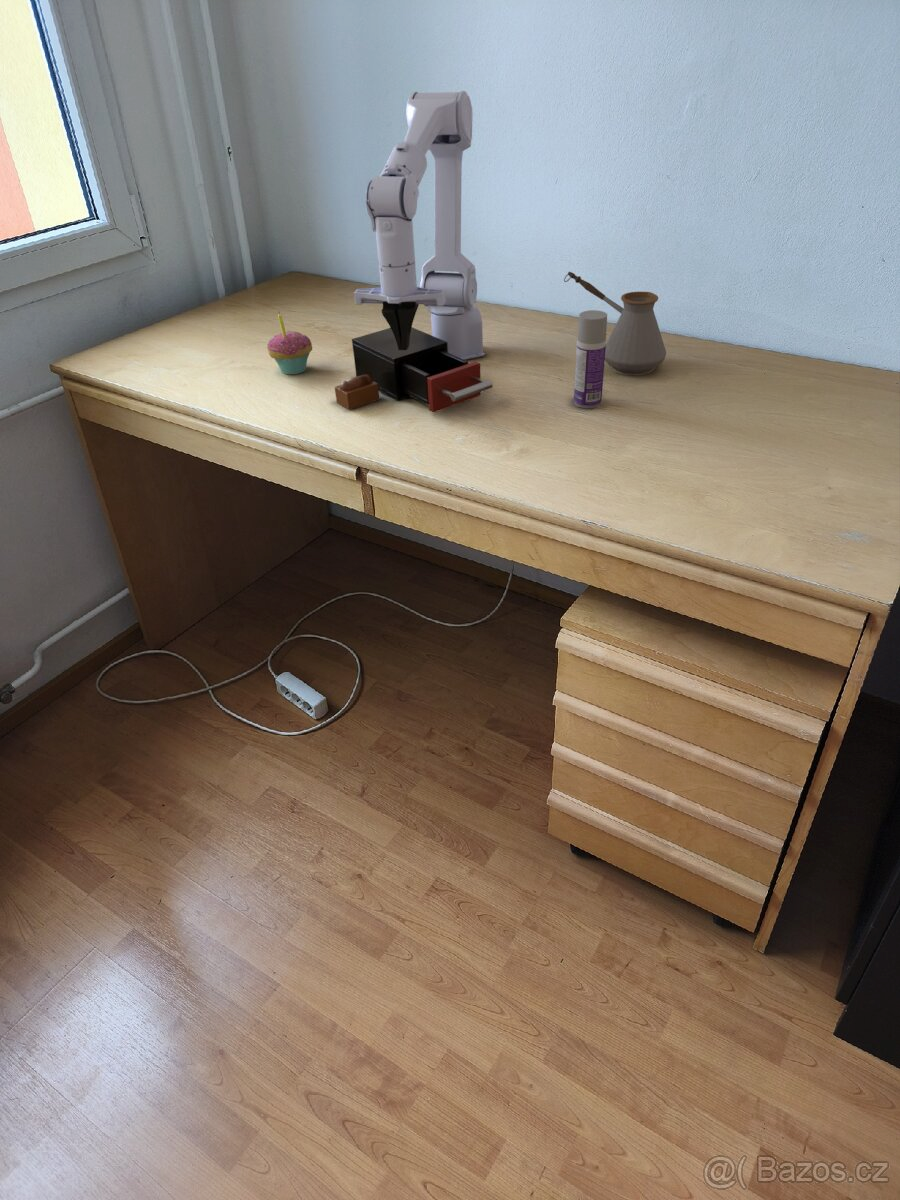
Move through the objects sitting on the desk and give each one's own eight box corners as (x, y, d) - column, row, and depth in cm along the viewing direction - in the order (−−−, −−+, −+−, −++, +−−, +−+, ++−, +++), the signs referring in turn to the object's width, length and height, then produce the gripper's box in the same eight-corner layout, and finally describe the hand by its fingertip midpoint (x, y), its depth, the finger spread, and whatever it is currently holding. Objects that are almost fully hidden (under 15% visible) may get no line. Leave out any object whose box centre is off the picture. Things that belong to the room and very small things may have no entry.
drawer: (498, 403, 136) (498, 370, 132) (450, 421, 131) (448, 388, 128) (438, 375, 147) (436, 344, 143) (391, 390, 142) (388, 359, 139)
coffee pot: (675, 364, 148) (686, 281, 139) (644, 384, 142) (653, 298, 132) (579, 341, 160) (583, 263, 151) (545, 359, 153) (548, 278, 144)
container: (603, 398, 138) (610, 310, 129) (598, 409, 134) (605, 320, 125) (576, 396, 139) (581, 309, 130) (571, 407, 136) (575, 318, 126)
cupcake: (306, 379, 151) (296, 315, 143) (264, 377, 152) (252, 314, 145) (321, 362, 157) (312, 300, 150) (280, 360, 159) (269, 299, 151)
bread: (366, 392, 144) (364, 369, 142) (379, 399, 142) (377, 376, 139) (336, 402, 141) (333, 379, 139) (349, 410, 139) (345, 386, 136)
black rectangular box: (449, 382, 146) (447, 342, 142) (397, 400, 141) (393, 359, 136) (406, 362, 155) (403, 323, 150) (356, 379, 150) (351, 339, 145)
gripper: (344, 269, 122) (355, 355, 130) (437, 270, 120) (441, 358, 128) (357, 256, 128) (366, 340, 136) (446, 257, 125) (450, 342, 133)
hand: (403, 348), depth 132 cm, fingers closed
